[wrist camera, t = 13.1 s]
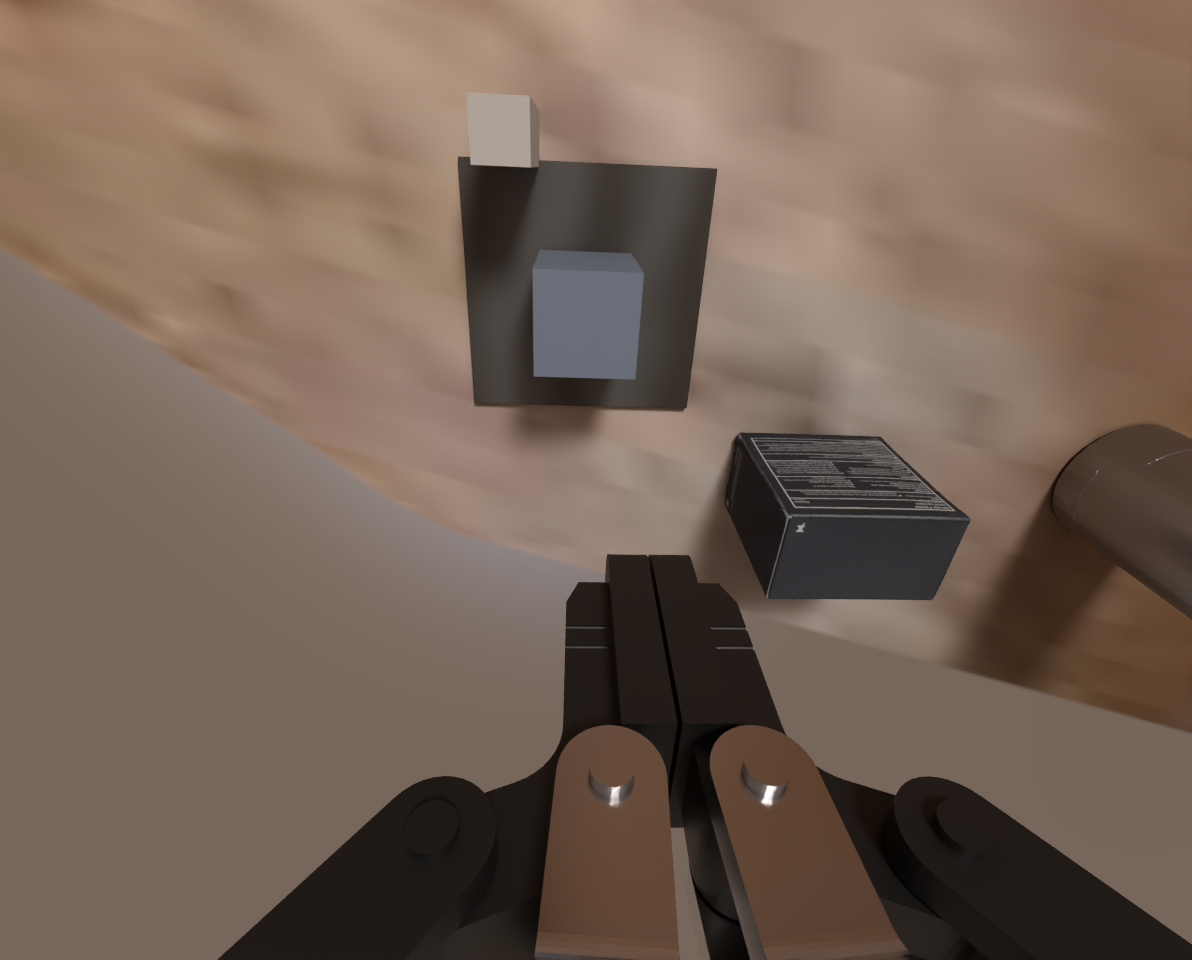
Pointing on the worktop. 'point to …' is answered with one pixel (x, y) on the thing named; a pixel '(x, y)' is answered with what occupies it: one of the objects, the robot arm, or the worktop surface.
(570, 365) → the blue-grey block
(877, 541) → the small box
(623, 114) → the worktop surface
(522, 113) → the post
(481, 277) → the dark grey square tray
